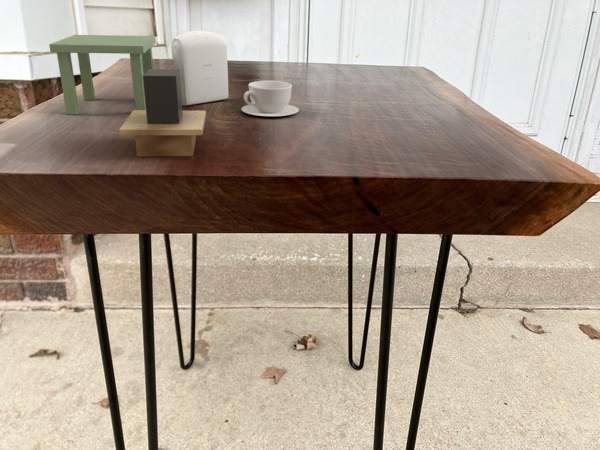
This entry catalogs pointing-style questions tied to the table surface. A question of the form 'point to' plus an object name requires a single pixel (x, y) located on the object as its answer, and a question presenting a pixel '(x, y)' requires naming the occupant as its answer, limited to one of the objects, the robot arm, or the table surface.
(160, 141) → the low shelf
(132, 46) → the high shelf
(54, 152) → the table surface
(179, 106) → the black block
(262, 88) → the teacup
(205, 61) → the photo printer
